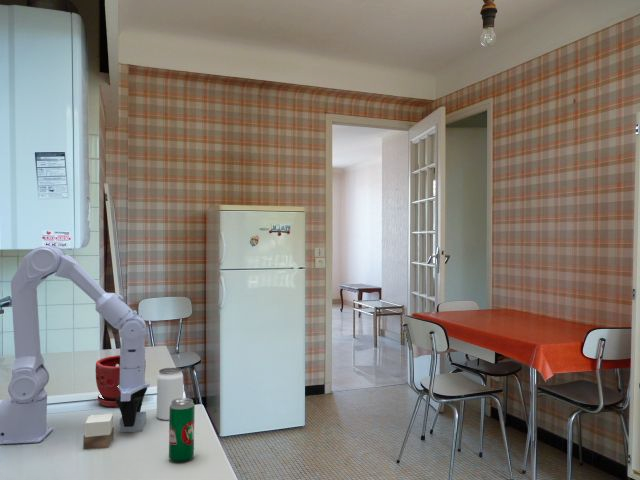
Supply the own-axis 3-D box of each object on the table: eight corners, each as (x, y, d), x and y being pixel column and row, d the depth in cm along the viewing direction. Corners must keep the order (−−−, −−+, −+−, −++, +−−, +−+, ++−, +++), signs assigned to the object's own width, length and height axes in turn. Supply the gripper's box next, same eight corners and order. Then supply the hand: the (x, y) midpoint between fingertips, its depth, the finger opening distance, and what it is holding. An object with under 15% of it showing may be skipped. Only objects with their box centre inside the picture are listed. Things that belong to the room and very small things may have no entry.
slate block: (119, 432, 116) (119, 419, 116) (124, 424, 121) (124, 412, 121) (141, 431, 117) (141, 418, 117) (145, 423, 122) (145, 411, 122)
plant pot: (84, 405, 135) (84, 362, 135) (120, 392, 147) (121, 352, 147) (120, 412, 130) (121, 367, 130) (154, 398, 142) (155, 357, 142)
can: (175, 421, 124) (175, 374, 124) (151, 419, 125) (152, 372, 125) (187, 413, 130) (187, 367, 130) (164, 411, 131) (165, 366, 131)
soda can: (167, 455, 104) (168, 398, 104) (191, 451, 106) (192, 396, 106) (170, 465, 99) (171, 406, 99) (195, 461, 101) (196, 403, 101)
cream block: (85, 437, 106) (85, 423, 106) (89, 428, 111) (89, 415, 111) (110, 434, 108) (110, 421, 108) (112, 426, 113) (113, 413, 113)
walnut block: (83, 450, 107) (83, 436, 107) (90, 441, 112) (90, 427, 112) (107, 449, 107) (107, 435, 107) (113, 440, 112) (113, 426, 112)
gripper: (143, 373, 113) (142, 432, 113) (154, 358, 127) (154, 411, 127) (111, 374, 112) (110, 433, 112) (126, 359, 126) (125, 412, 126)
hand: (131, 422), depth 119 cm, fingers closed on slate block, 5 cm apart
